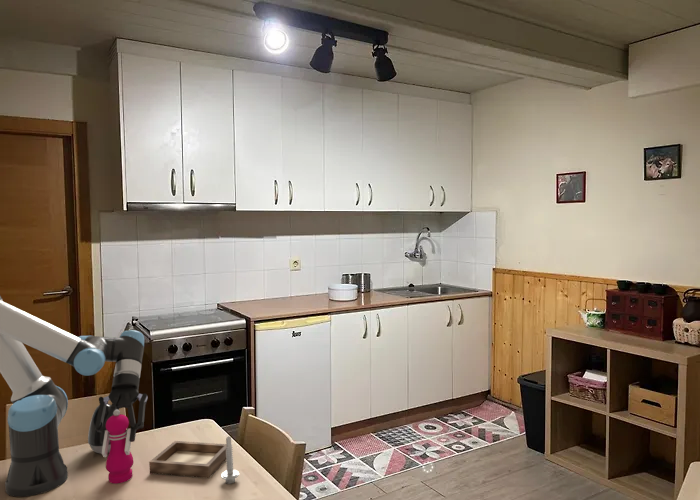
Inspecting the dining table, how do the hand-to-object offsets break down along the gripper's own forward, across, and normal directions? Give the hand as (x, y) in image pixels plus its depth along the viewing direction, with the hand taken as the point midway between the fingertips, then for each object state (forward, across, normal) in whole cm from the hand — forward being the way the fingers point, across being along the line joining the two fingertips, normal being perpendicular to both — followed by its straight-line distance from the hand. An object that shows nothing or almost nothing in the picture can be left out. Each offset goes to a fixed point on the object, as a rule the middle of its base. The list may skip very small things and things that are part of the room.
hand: (115, 453), depth 148 cm
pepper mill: (+4, 0, -9) cm, 10 cm away
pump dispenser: (-11, +9, -24) cm, 28 cm away
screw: (+10, -31, -3) cm, 33 cm away
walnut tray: (0, -19, -12) cm, 22 cm away
